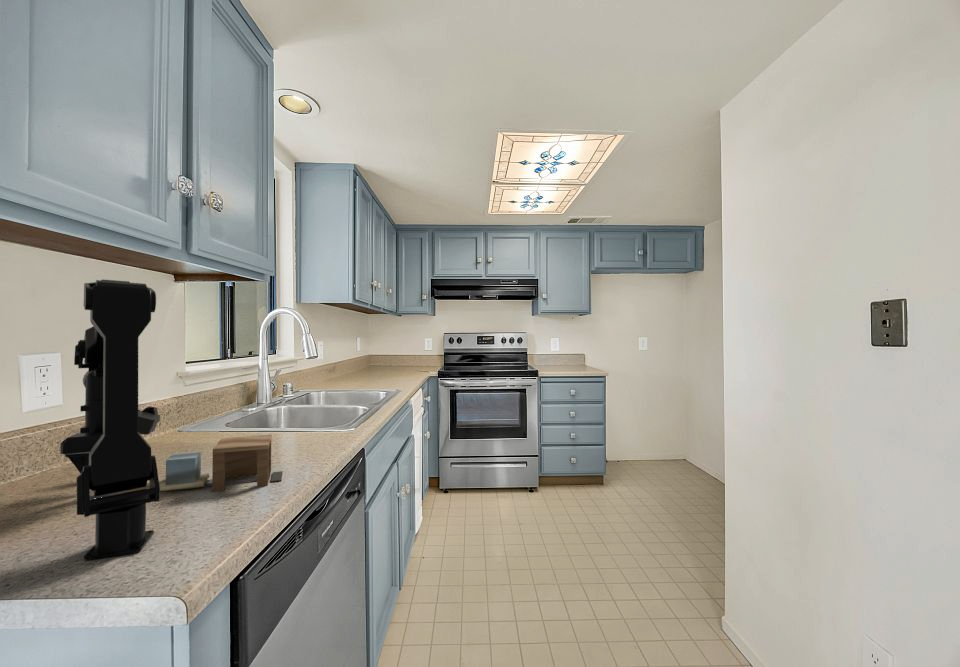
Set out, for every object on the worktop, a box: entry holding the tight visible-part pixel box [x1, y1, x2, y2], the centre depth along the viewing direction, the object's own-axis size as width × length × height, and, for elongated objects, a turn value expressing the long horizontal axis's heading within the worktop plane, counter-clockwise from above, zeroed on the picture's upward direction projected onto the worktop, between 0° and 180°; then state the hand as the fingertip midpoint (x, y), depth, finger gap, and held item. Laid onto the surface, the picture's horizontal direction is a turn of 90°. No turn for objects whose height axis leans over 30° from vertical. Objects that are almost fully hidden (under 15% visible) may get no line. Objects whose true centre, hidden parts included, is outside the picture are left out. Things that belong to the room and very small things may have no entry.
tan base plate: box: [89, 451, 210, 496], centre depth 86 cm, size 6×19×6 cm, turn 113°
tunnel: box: [211, 434, 272, 493], centre depth 92 cm, size 10×10×8 cm
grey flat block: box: [270, 470, 284, 483], centre depth 95 cm, size 6×2×1 cm, turn 22°
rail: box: [90, 473, 271, 500], centre depth 88 cm, size 2×32×1 cm, turn 113°
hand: (104, 478), depth 83 cm, fingers open, 9 cm apart
